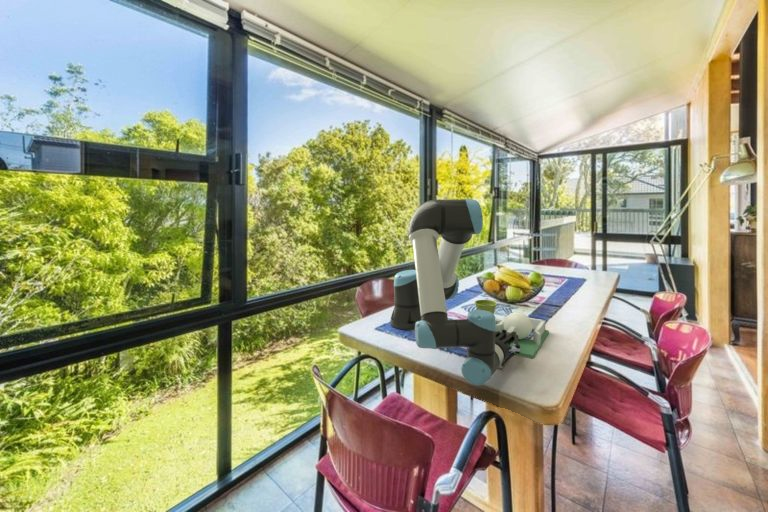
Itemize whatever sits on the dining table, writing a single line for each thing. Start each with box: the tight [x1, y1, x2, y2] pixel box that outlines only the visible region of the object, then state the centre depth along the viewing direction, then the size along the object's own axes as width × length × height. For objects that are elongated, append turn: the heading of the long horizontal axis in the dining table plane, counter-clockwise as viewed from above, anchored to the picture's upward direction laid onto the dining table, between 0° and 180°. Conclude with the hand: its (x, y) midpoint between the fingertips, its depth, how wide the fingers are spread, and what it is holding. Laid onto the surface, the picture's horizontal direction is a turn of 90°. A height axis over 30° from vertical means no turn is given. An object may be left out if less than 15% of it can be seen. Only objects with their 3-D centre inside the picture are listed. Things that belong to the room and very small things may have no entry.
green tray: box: [496, 313, 550, 359], centre depth 129 cm, size 17×28×5 cm, turn 145°
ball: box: [504, 311, 533, 339], centre depth 128 cm, size 10×10×10 cm
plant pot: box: [474, 299, 498, 315], centre depth 150 cm, size 9×9×9 cm
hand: (513, 330), depth 123 cm, fingers closed
